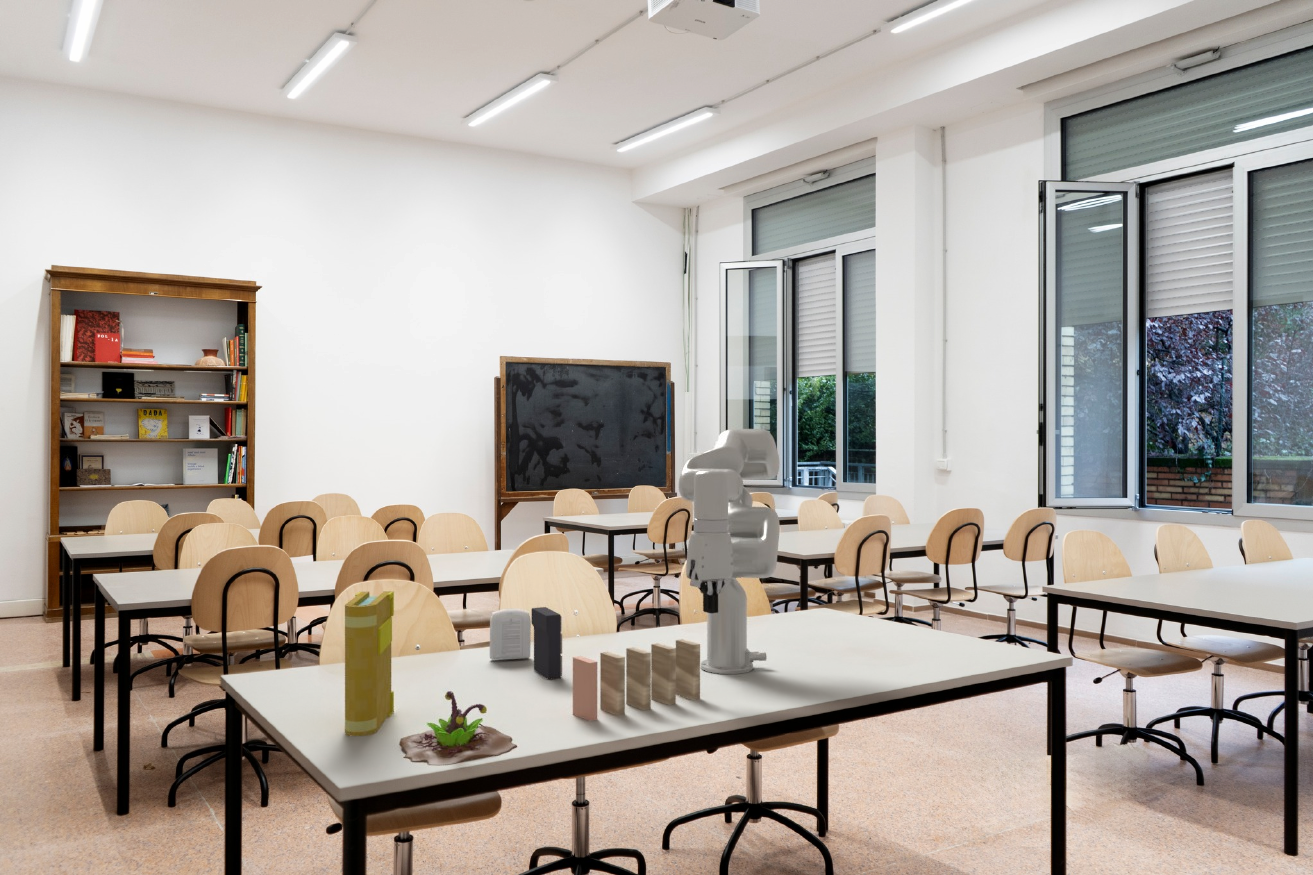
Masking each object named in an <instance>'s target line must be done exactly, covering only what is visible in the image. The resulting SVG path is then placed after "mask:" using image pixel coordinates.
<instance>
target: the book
mask: <svg viewBox="0 0 1313 875" xmlns="http://www.w3.org/2000/svg"><path fill="white" fill-rule="evenodd" d="M394 597H395V591H394V590H393V591H390V590H389V591H388V590H386V591H383V592H381V593H380V594H379V595H378V596H370V591H358V592H357V593H355V596H353V598H352V599H351V600H349V601H348V602H346V604H344V733H346V734H345V735H347V736H350V735H352V736H353V737H364V736H370V735H372V734H375V733H377V732H378V730H380V728H381V727H382V725H383V723H385V721H386V720H385V719H387V718H388V717H392V715H393V713H394V712H393V711H394V710H395V708H394V707H395V706H394V705H395V693H394V692H395V691H394V690H393V691H392V641H393V617H394V615H395V610H394V608H395V606H394V605H395V602H394V601H395V598H394ZM380 726H381V727H380ZM352 736H351V737H352Z"/></svg>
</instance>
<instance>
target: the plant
mask: <svg viewBox="0 0 1313 875" xmlns="http://www.w3.org/2000/svg"><path fill="white" fill-rule="evenodd" d="M444 698H445V699H446V700H447V701H451V714H450V715H449V718H448V719H447V720H445V719H443V718H439V719H438V723H439V725H440V726H439V725H437V724H436V723H433V722H426V726H428V727H429V728H430V730H426V731H424V732H421V733H416V734H412V735H408V736H405V737H401V738H400V740H399V746H400V747H401V751H402V752H403V753H404V754H405V755H404V756H403V759H409V760H410V763H411V762H412V763H426V764H427V766H450V765H456V764H461V763H466V762H470V761H474V760H478V759H479V760H480V759H484V758H490V757H492V758H493V757H498V756H501V755H504V754H507V753H509V752H512V750H513V749H514V750H515V749H516V748H518V745H517V744H515V743H512V741H513V738H512V736H510V735H508V734H504V733H503V732H500V731H499V730H497V729H496V728H494V727H491V726H487V725H483V724H481V723H482V722H483V720H484V718H477V719H475V720H473V721H472V722H470V723H469V724H468V718H467V716H468V714H469V713H470V712H471V711H472V710H474V709H476V708H477V709H478V711H479V712H480V714H486V713H487V711H488V710H487V707H486V705H484V704H482V703H476V704H473V705H472V704H471V705H470V706H469V707H467V709H465V710H464V711H462V710H461V709H460V708H458V706H457V704H458V703H457V701H456V700H457V699H456V696H455V695H454V692H453V691H451V690H448V691H447V692H446V693H445V696H444Z"/></svg>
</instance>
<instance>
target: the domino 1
mask: <svg viewBox="0 0 1313 875" xmlns="http://www.w3.org/2000/svg"><path fill="white" fill-rule="evenodd" d="M572 715H573V716H576V717H578V718H581V719H584V720H587V721H589V722H591V721H597V720H598V661H596V660H593V659H590V658H587V657H584V656H581V655H579V656H574V657H572Z"/></svg>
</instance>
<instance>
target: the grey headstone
mask: <svg viewBox="0 0 1313 875" xmlns="http://www.w3.org/2000/svg"><path fill="white" fill-rule="evenodd" d="M531 627H532V618H531V614H530V612H529V611H528V610H525V609H519V608H504V609H500V610H499V609H498V610H497V611H492V613H491V617H490V620H489V659H491V660H507V659H510V660H511V659H529V658H530V657H531V644H532V642H531V640H532V639H531V638H532V637H531V634H532V632H531Z"/></svg>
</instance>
